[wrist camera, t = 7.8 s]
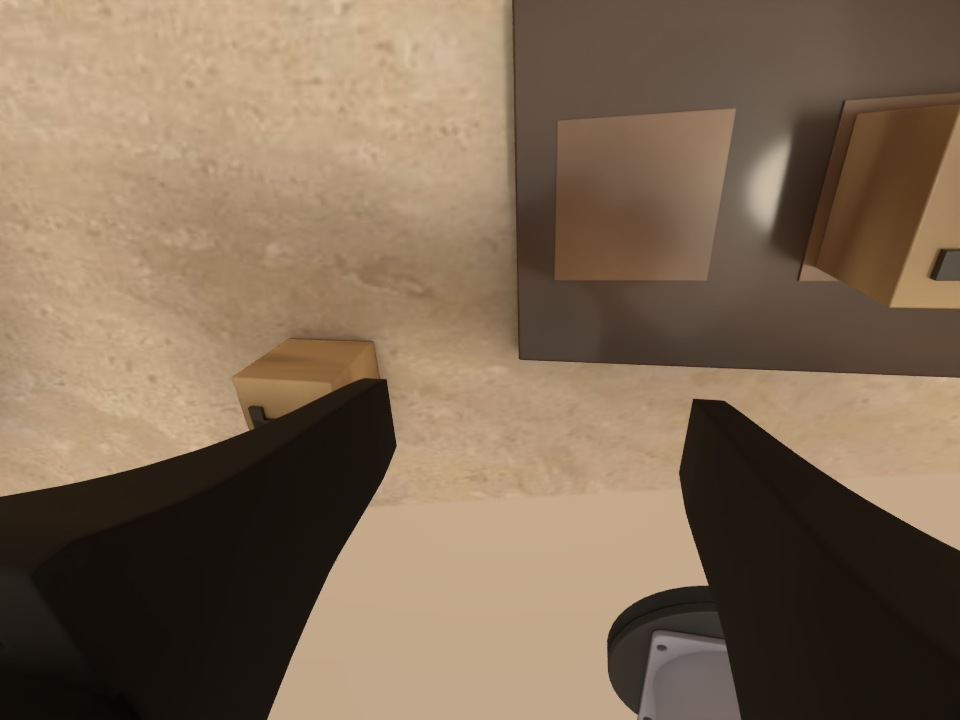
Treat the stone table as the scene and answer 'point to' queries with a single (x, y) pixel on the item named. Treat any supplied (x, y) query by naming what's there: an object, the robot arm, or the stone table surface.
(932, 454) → the stone table surface
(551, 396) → the stone table surface
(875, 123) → the tile
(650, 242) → the word board
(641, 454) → the stone table surface
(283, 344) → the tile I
